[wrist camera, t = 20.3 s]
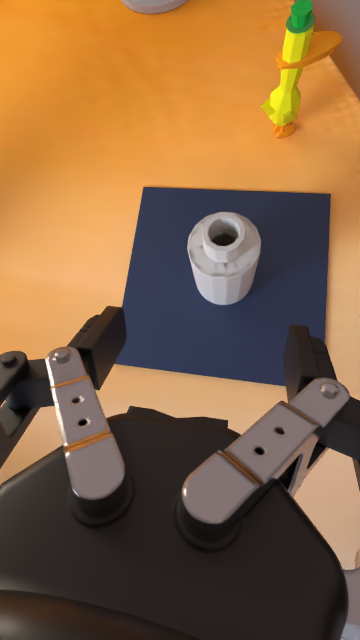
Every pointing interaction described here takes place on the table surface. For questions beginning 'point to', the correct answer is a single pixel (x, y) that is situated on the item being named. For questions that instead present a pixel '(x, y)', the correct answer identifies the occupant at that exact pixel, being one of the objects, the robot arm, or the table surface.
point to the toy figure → (296, 64)
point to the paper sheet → (234, 319)
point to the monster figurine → (152, 5)
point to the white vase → (224, 256)
